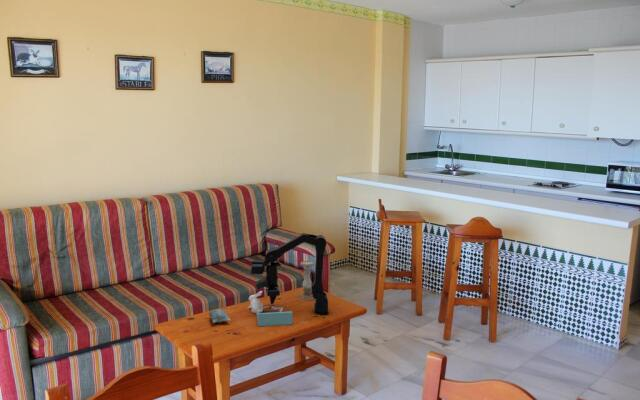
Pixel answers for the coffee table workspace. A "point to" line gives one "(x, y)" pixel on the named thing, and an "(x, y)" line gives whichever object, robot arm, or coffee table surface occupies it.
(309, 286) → the candle holder
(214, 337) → the coffee table surface
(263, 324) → the display stand
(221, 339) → the coffee table surface
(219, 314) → the packaged food
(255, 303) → the rabbit figurine
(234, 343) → the coffee table surface
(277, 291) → the robot arm
